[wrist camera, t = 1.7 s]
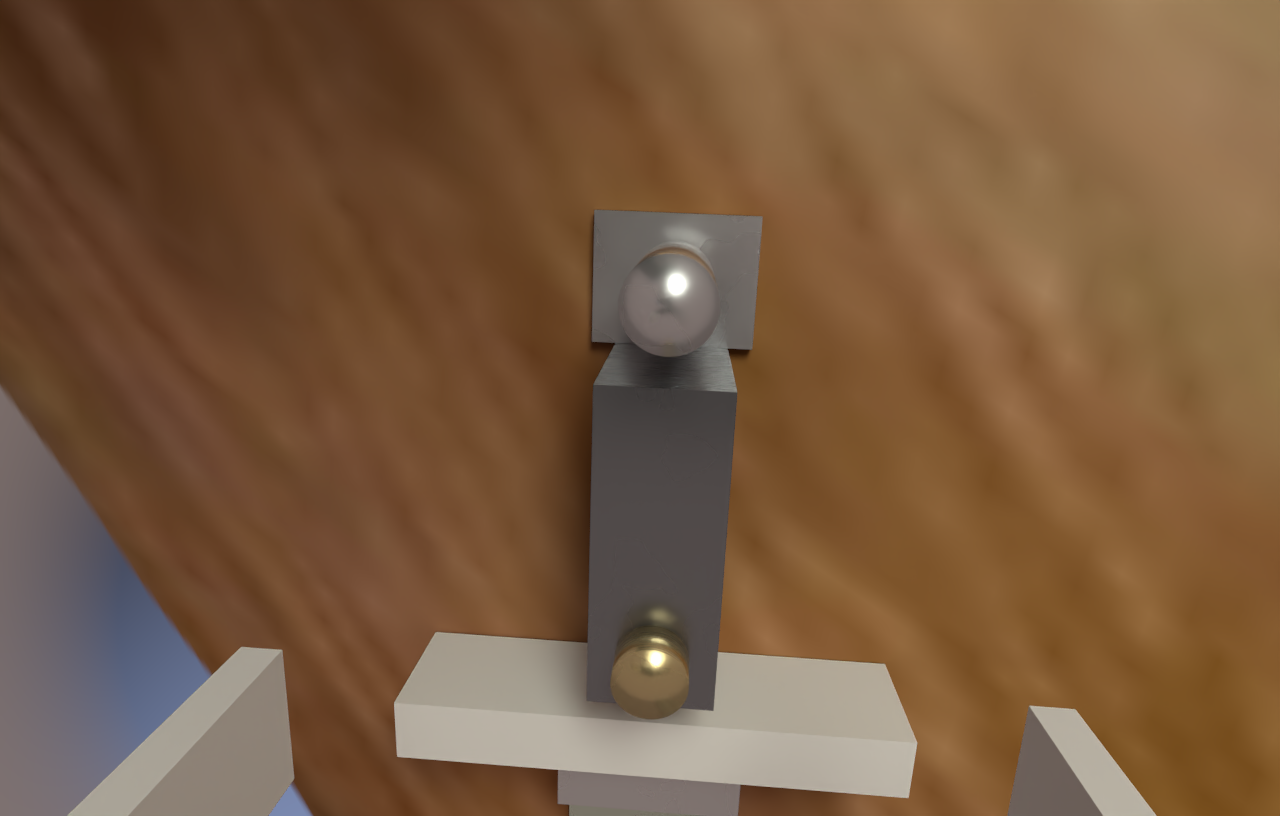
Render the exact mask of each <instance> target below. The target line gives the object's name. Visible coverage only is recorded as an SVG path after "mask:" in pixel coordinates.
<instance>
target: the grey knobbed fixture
mask: <svg viewBox="0 0 1280 816" xmlns="http://www.w3.org/2000/svg"><path fill="white" fill-rule="evenodd" d="M761 230H762V216H740V215H715V214H690V213H665V212H640V211H616V210H594V258H593V306H592V342H608V343H628V344H636V345H637V346H638V347H640V348H641V349H643V350H645V351H646V352H649V353H651V354H654V355H658V356H663V357H675V356H681V355H685V354H688V353H690V352H692V351H694V350H696V349H697V348H699V347H709V348H729V349H749V350H752V344H753V332H754V319H755V306H756V294H757V281H758V268H759V255H760V243H761Z"/></svg>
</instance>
